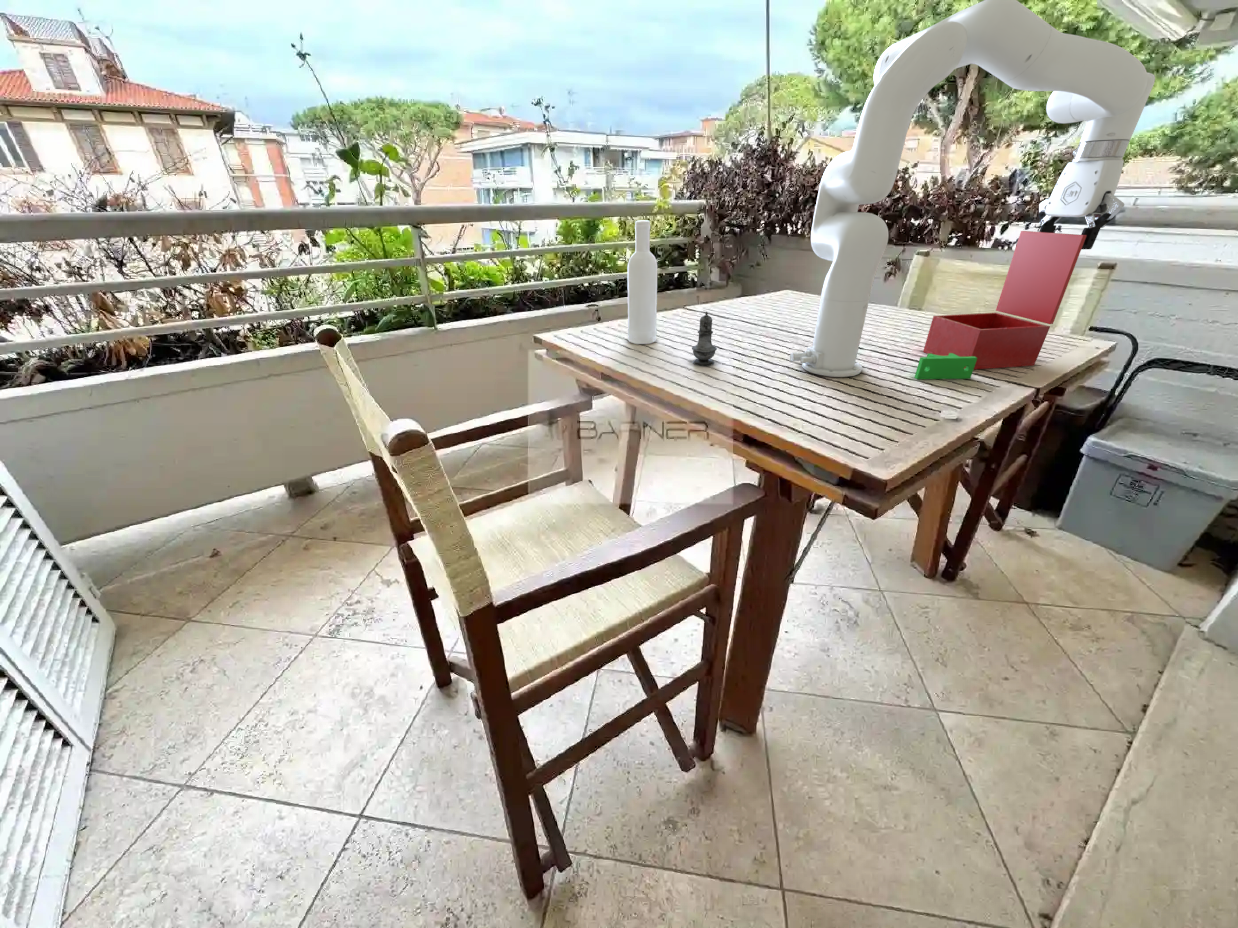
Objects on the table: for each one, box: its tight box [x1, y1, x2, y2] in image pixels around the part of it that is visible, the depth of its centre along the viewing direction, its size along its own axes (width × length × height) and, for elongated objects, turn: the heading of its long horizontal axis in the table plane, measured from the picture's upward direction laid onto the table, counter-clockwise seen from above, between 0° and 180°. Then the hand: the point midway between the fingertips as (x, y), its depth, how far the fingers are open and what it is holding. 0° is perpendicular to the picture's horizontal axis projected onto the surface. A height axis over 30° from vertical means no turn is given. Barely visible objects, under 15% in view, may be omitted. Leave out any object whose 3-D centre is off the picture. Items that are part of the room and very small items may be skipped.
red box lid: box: [995, 230, 1087, 325], centre depth 107 cm, size 18×15×5 cm
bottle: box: [627, 219, 658, 345], centre depth 127 cm, size 8×8×30 cm
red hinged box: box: [922, 312, 1051, 370], centre depth 112 cm, size 17×15×9 cm
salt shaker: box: [691, 311, 718, 367], centre depth 113 cm, size 6×6×12 cm
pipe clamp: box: [914, 353, 977, 380], centre depth 103 cm, size 11×4×5 cm, turn 89°
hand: (1061, 247), depth 104 cm, fingers open, 9 cm apart
